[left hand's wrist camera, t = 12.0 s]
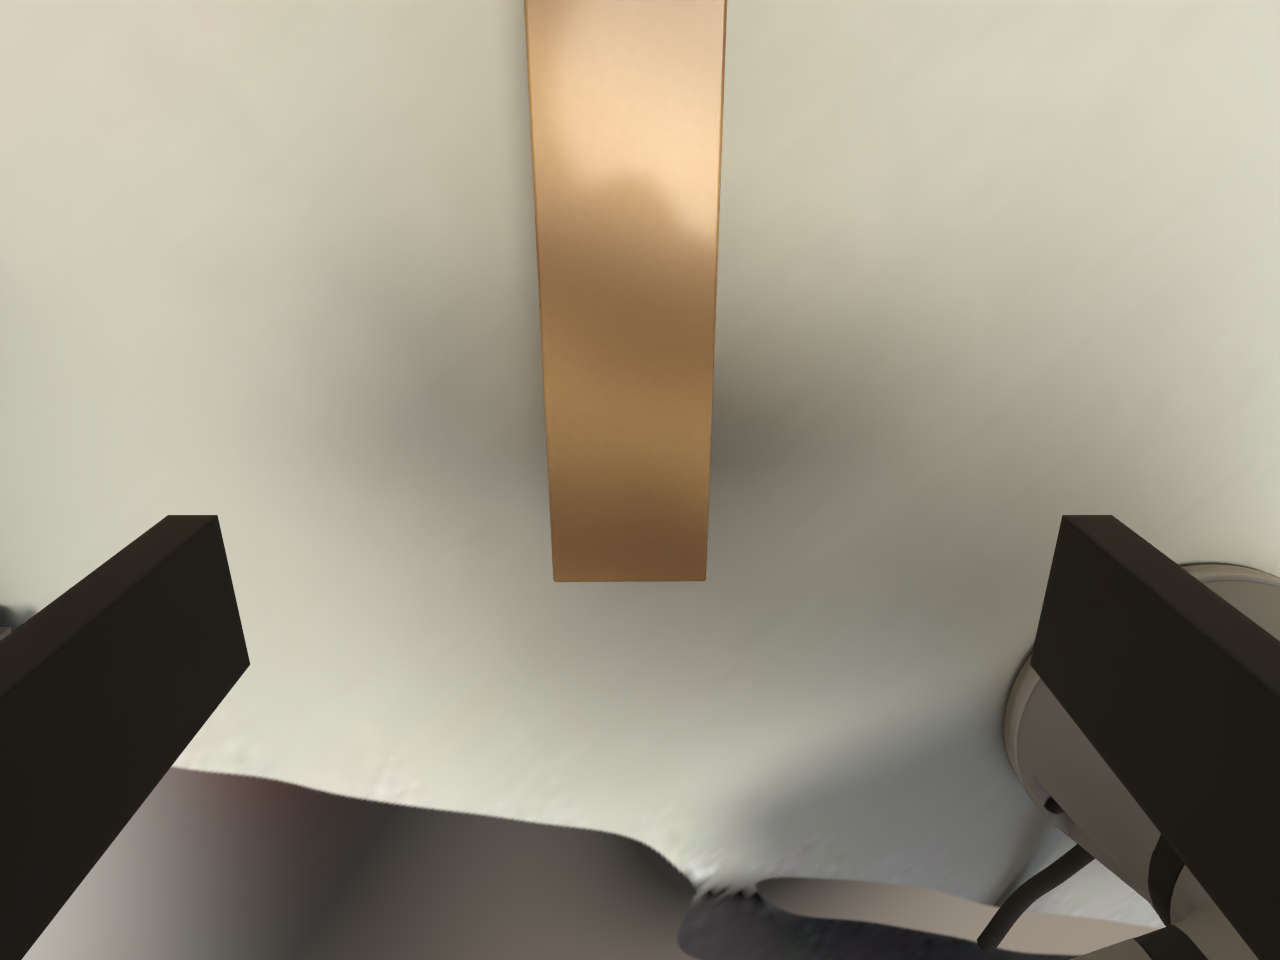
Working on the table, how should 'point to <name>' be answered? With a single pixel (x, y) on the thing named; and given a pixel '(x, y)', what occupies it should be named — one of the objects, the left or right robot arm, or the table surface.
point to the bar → (627, 276)
